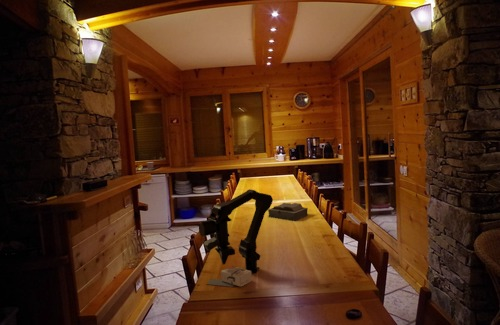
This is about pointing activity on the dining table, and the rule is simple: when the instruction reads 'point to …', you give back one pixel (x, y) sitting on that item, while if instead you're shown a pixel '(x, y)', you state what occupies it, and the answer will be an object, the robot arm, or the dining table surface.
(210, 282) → the slate mat
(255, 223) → the robot arm
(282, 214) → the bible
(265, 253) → the dining table surface
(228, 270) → the ink box
